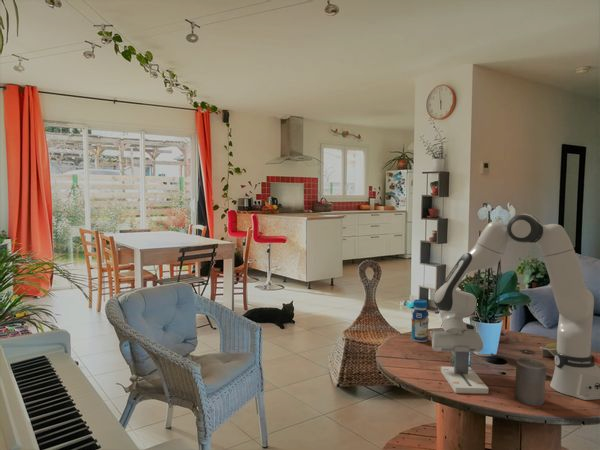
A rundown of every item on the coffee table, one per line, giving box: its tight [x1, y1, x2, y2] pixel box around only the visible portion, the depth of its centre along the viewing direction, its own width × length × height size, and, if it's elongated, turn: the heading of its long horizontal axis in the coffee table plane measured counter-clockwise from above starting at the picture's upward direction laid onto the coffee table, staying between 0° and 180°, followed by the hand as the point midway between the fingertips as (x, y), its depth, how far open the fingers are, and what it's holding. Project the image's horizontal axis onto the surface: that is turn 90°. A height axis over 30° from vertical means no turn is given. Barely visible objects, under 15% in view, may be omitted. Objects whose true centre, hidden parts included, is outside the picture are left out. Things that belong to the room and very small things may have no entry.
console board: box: [440, 366, 489, 395], centre depth 182 cm, size 12×21×2 cm, turn 177°
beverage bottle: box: [410, 299, 430, 343], centre depth 234 cm, size 8×8×20 cm
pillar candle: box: [514, 357, 547, 407], centre depth 166 cm, size 10×10×15 cm
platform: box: [539, 342, 557, 358], centre depth 211 cm, size 12×18×7 cm, turn 105°
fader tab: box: [453, 345, 470, 374], centre depth 185 cm, size 6×2×11 cm, turn 88°
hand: (460, 360), depth 187 cm, fingers closed, pressing on fader tab
